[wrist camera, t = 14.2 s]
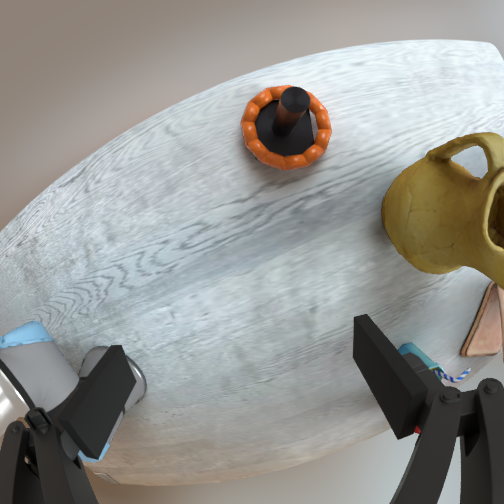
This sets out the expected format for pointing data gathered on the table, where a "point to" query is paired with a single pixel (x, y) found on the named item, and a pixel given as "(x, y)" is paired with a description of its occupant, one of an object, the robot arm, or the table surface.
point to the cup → (430, 363)
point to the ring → (276, 159)
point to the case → (487, 326)
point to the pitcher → (450, 210)
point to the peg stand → (286, 123)
